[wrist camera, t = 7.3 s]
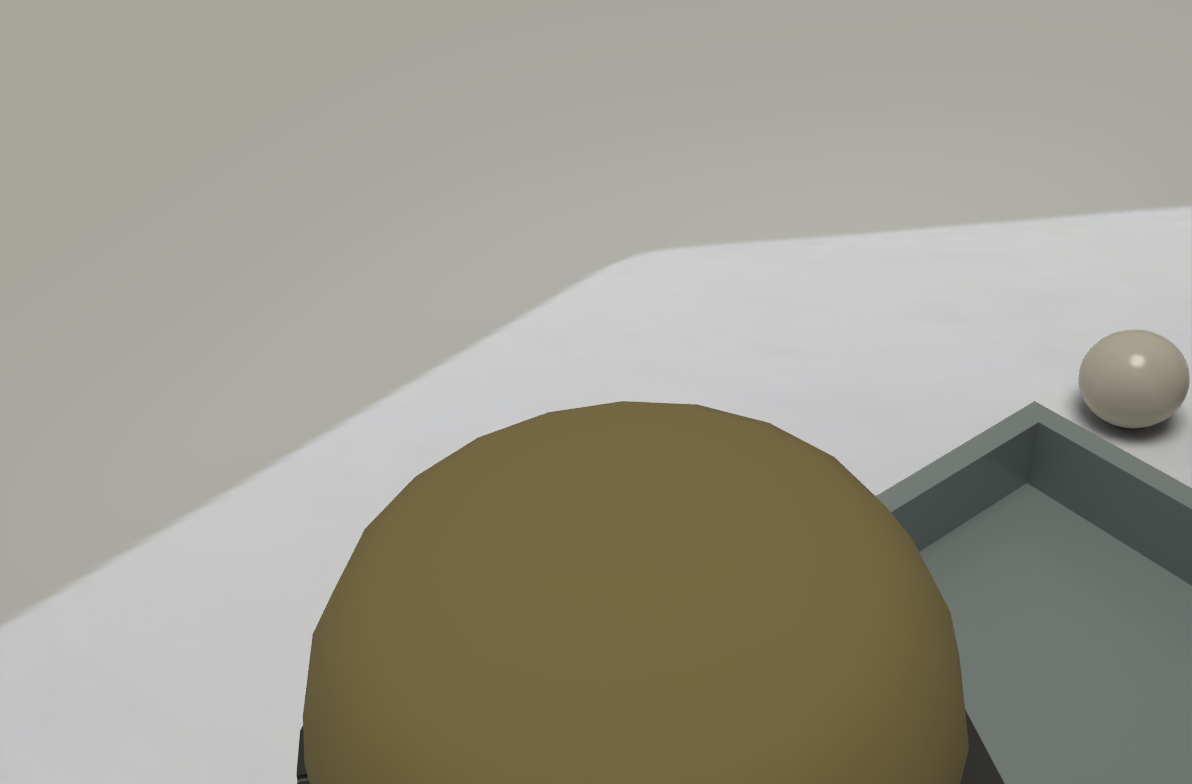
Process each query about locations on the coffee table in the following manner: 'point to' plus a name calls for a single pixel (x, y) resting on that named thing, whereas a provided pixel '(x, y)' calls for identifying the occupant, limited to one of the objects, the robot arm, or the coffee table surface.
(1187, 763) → the slate dish
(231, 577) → the coffee table surface
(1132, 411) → the pebble
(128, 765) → the coffee table surface
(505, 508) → the cork
